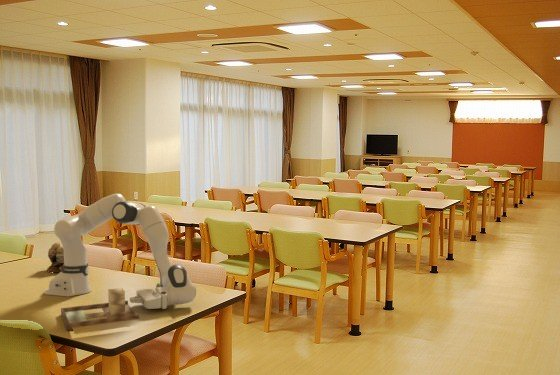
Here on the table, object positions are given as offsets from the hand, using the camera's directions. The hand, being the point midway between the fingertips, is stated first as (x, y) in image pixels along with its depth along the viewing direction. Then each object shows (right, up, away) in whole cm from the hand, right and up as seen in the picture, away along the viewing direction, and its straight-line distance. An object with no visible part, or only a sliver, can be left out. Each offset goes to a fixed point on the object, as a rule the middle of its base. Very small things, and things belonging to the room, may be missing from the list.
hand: (130, 300), depth 255 cm
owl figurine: (-63, +1, +81) cm, 103 cm away
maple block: (-5, -5, -2) cm, 8 cm away
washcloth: (+12, -3, +41) cm, 43 cm away
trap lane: (-12, -7, -5) cm, 14 cm away
